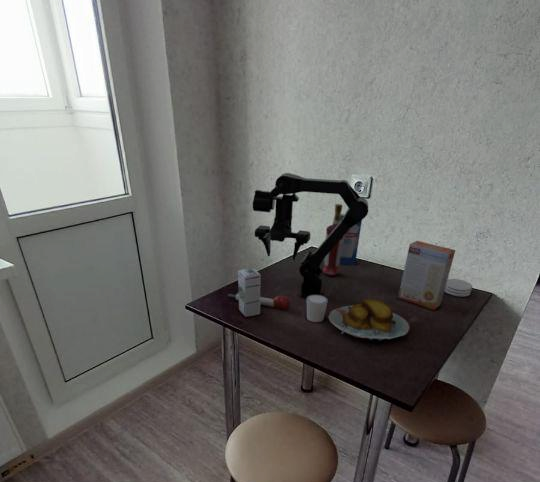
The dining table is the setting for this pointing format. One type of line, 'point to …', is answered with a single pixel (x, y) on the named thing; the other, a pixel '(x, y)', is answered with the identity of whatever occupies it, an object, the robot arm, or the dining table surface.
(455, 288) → the coaster
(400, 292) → the cracker box
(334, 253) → the liquor
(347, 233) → the milk carton
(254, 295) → the syrup box
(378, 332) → the food on plate
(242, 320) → the dining table surface
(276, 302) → the baster
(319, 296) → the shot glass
